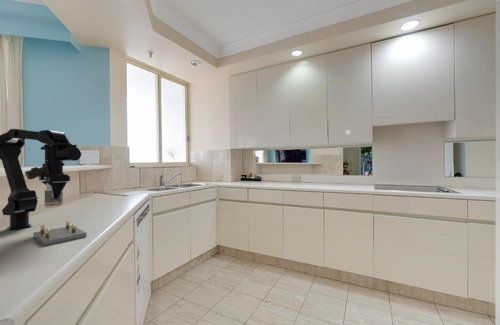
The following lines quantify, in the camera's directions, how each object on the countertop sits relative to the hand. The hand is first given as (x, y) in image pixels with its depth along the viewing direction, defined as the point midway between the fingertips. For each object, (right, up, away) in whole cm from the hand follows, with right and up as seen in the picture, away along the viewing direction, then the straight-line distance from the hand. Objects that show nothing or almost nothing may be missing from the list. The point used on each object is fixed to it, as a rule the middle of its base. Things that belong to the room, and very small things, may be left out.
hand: (53, 198), depth 92 cm
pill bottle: (0, -4, 0) cm, 4 cm away
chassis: (+10, -13, -9) cm, 19 cm away
